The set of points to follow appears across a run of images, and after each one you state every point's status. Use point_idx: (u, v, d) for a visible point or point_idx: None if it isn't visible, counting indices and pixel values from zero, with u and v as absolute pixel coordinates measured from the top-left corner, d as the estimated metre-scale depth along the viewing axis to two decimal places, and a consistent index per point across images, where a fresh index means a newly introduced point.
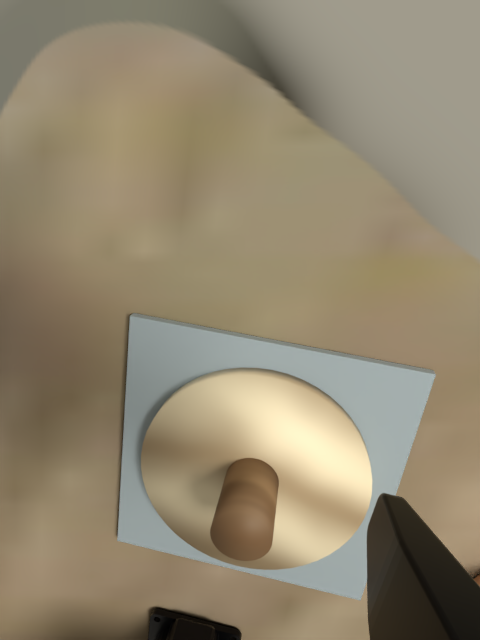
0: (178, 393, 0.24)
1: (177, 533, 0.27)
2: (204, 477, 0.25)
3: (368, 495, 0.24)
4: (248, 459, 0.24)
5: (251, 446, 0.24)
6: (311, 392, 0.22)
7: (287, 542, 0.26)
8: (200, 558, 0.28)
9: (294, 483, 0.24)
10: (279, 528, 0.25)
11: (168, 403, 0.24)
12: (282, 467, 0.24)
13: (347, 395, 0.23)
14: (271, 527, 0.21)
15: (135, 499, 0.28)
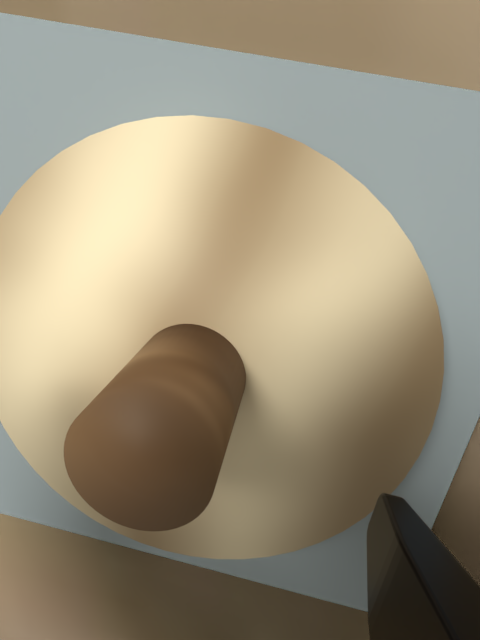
0: None
1: (344, 528, 0.13)
2: None
3: (198, 123, 0.10)
4: None
5: (114, 370, 0.12)
6: None
7: (354, 313, 0.11)
8: (440, 487, 0.13)
9: (187, 292, 0.11)
10: (313, 328, 0.11)
11: (57, 490, 0.14)
12: (151, 314, 0.12)
13: (13, 181, 0.12)
14: (115, 392, 0.08)
15: (291, 568, 0.15)
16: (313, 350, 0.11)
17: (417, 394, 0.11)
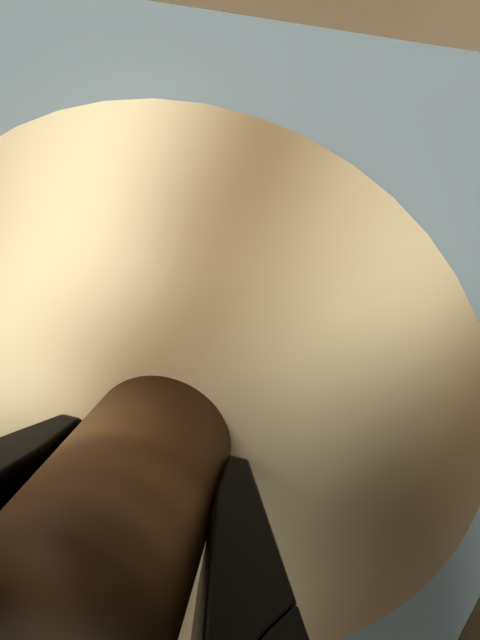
0: None
1: (357, 627, 0.10)
2: None
3: (161, 110, 0.07)
4: None
5: None
6: None
7: (374, 367, 0.08)
8: (479, 575, 0.10)
9: (152, 335, 0.09)
10: (319, 386, 0.08)
11: None
12: (107, 363, 0.09)
13: None
14: (23, 511, 0.05)
15: None
16: (319, 413, 0.09)
17: (457, 472, 0.08)
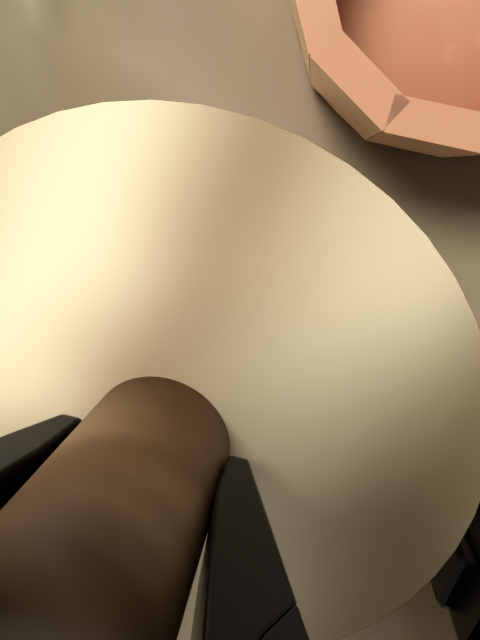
0: None
1: (356, 628, 0.10)
2: None
3: (160, 111, 0.07)
4: None
5: None
6: None
7: (373, 368, 0.08)
8: None
9: (151, 336, 0.09)
10: (318, 386, 0.08)
11: None
12: (106, 363, 0.09)
13: None
14: (22, 512, 0.05)
15: None
16: (318, 414, 0.09)
17: (456, 473, 0.08)
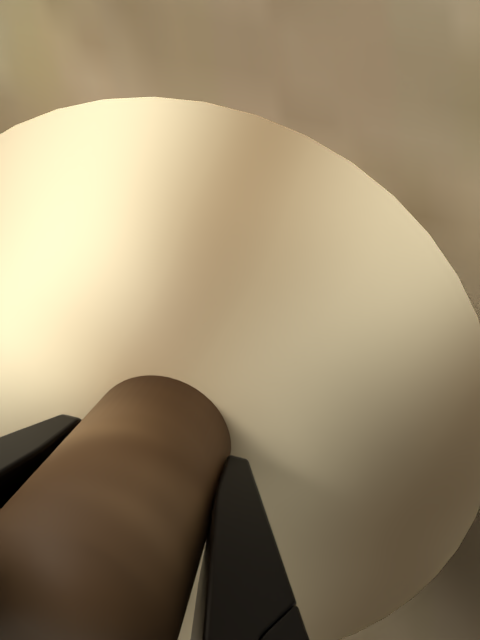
0: None
1: (357, 628, 0.10)
2: None
3: (160, 108, 0.07)
4: None
5: None
6: None
7: (375, 366, 0.08)
8: None
9: (152, 335, 0.09)
10: (319, 385, 0.08)
11: None
12: (107, 362, 0.09)
13: None
14: (22, 511, 0.05)
15: None
16: (319, 413, 0.08)
17: (458, 472, 0.08)
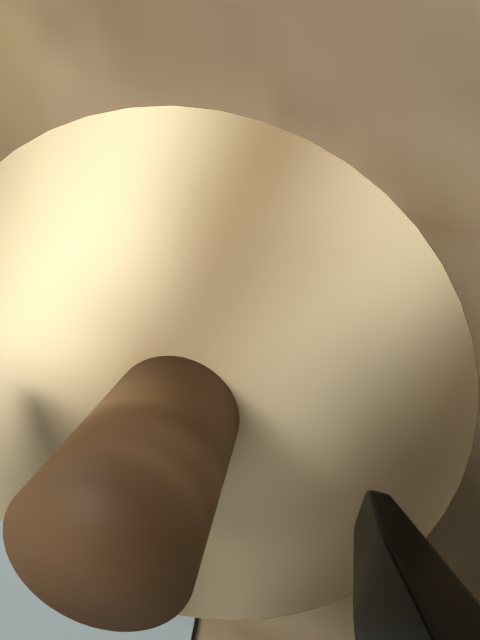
0: None
1: None
2: None
3: (179, 116, 0.08)
4: None
5: (84, 407, 0.11)
6: None
7: (369, 346, 0.09)
8: None
9: (169, 318, 0.09)
10: (319, 363, 0.09)
11: None
12: (127, 344, 0.10)
13: None
14: (66, 461, 0.06)
15: None
16: (319, 389, 0.09)
17: (444, 442, 0.09)
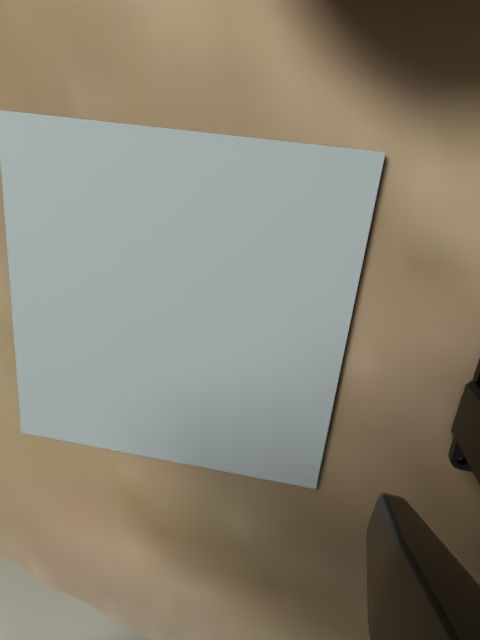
0: None
1: None
2: None
3: None
4: None
5: None
6: None
7: None
8: (331, 390, 0.20)
9: None
10: None
11: None
12: None
13: (47, 211, 0.20)
14: None
15: (244, 458, 0.22)
16: None
17: None
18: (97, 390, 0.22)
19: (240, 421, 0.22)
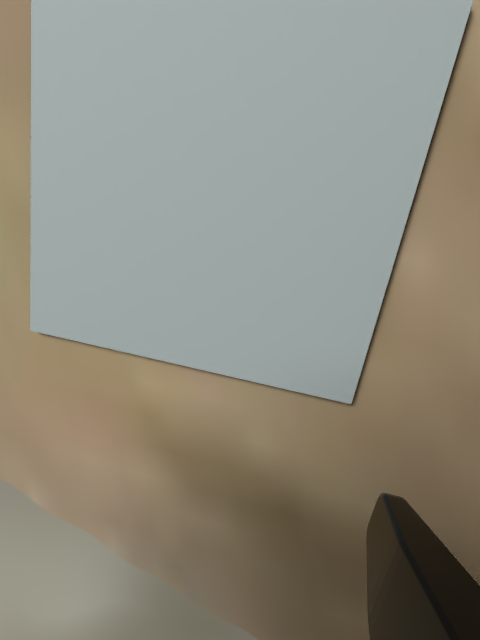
0: None
1: None
2: None
3: None
4: None
5: None
6: None
7: None
8: (380, 288, 0.18)
9: None
10: None
11: None
12: None
13: (80, 63, 0.17)
14: None
15: (276, 366, 0.20)
16: None
17: None
18: (118, 281, 0.20)
19: (275, 322, 0.20)
